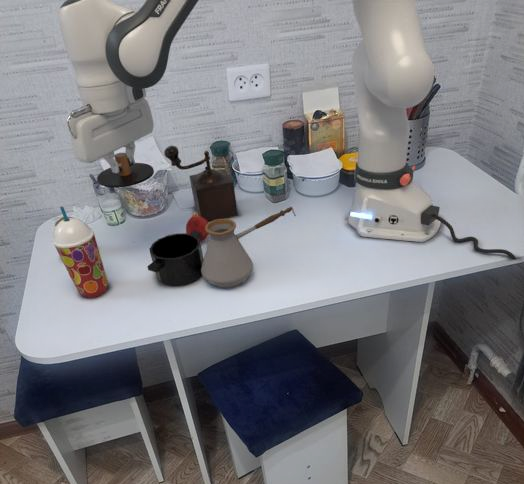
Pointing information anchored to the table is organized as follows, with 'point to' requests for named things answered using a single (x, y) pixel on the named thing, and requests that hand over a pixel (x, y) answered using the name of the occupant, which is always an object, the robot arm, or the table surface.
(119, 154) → the pot lid
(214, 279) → the coffee pot
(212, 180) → the coffee grinder
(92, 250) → the smoothie
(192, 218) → the red rounded piece
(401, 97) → the robot arm
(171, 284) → the pot
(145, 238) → the table surface
